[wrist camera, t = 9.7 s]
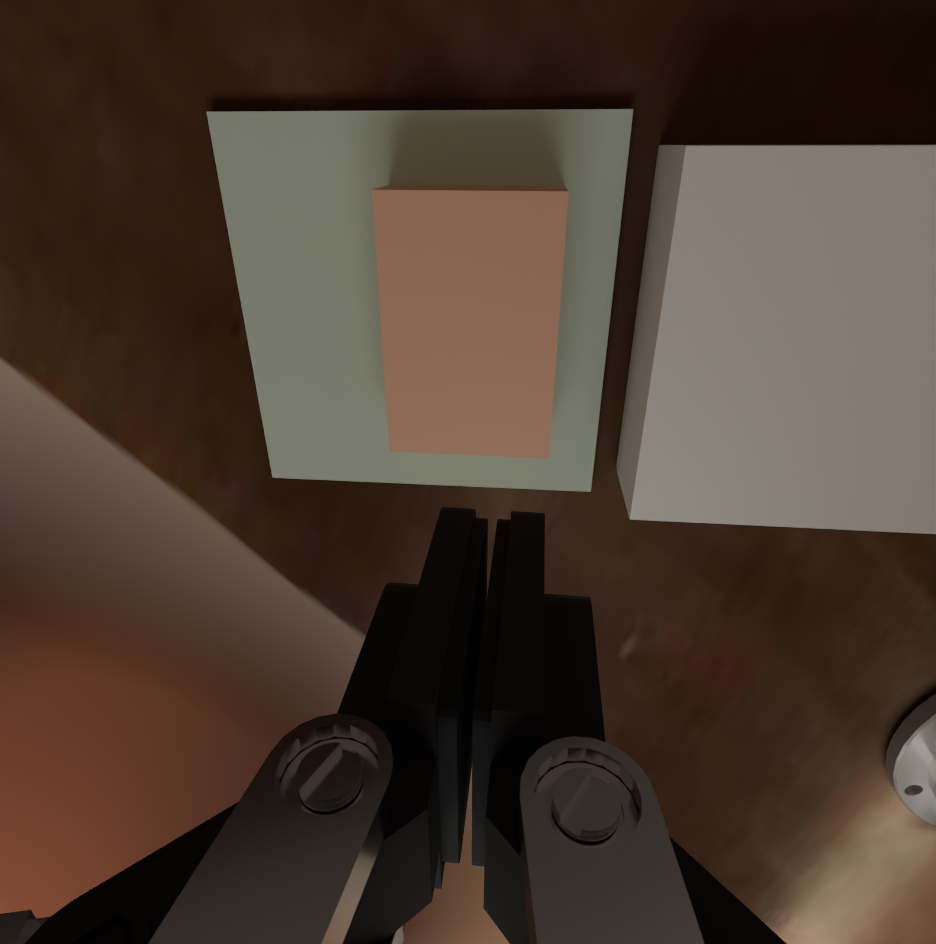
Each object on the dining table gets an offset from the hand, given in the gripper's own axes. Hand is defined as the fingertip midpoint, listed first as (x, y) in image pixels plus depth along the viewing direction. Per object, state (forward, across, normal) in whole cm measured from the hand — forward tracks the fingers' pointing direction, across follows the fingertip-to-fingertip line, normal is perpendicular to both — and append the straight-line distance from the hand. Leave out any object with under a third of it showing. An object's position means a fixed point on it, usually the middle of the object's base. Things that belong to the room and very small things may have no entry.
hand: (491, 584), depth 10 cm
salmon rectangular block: (+12, +2, -1) cm, 12 cm away
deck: (+15, -10, -1) cm, 18 cm away
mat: (+15, +4, -1) cm, 15 cm away
